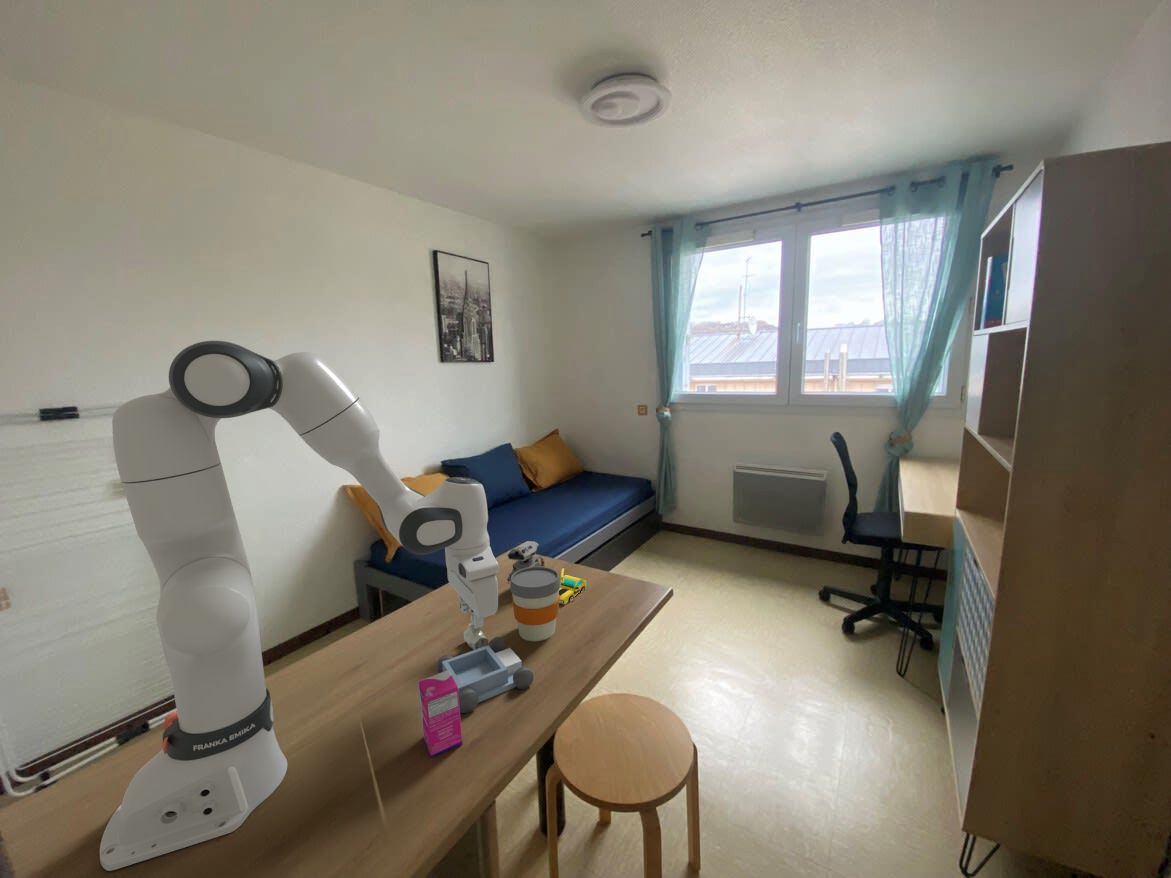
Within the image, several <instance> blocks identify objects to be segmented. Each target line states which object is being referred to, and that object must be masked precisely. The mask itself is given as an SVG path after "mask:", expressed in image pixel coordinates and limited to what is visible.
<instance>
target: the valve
mask: <svg viewBox="0 0 1171 878" xmlns="http://www.w3.org/2000/svg"><path fill="white" fill-rule="evenodd" d="M459 608H460V609H461V603H460V602H459ZM469 616H470V617H469V618H470V619H469V620H470V621H471V622H470V623H469V624H468V627H467V628H466V629H464V631H463V640H464V641H465V642H466V644H467V645H468V646H469V648H471V649H472V651H474V650H476V649H479V648H482V647H485V646H488V645H489V639H488V638H487V636H486V635H485V634H484V632H483V631H482V627H479V628H476V627H475V626H474V625H473V617H474V612H473V610H471V612H470V615H469Z"/></svg>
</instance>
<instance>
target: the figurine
mask: <svg viewBox="0 0 1171 878" xmlns="http://www.w3.org/2000/svg"><path fill="white" fill-rule="evenodd" d="M539 546H540V545H539V543H538V542H537V541H534V540H527V541H525V542H522V543H520V542H518V543H517V546H516V547H514V548H512V549H511V550H510V551H509V552H508V553H507V555H506V556H507V559H508V560H511V561H515V562H514V563H513V564H512V571H511V572H509V573H508V577H507V579H506V580H507V583H510V582H511V576H512V575H513V574H514V573H515V572H517V571H518V570H521V569H524V568H528V567H546V564H545V560H544V558H542V557H541V556H539V557H535V555H536V553H537V549H538V548H539Z"/></svg>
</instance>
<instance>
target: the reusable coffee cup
mask: <svg viewBox="0 0 1171 878" xmlns="http://www.w3.org/2000/svg"><path fill="white" fill-rule="evenodd" d="M560 581H561V576H560V574H559V572H558V571H557V570H556V569H554V568H552V567H549V566H548V567H547V566H545V567H528V568H524V569H521V570H518V571H517V572H515V573H514V574H513V575H512V576H511V581H510V582H509V586H510V587H509V590H510V593H511V596H512V597H511V603H512V604H511V606H512V609H513V610H512V611H513V615H514V619H515V620H516V623H517V627H518V629H517V630H518V633H519V636H520V638H522V639H523V640H525V641H529V642H541V641H544V640H547V639H550V638H551V637H552V636H553V635H554V634H555V631H556V625H557V624H556V623H557V617H558V615H559V609H560V603H559V601H560V595H559V589H560V587H561V584H560Z"/></svg>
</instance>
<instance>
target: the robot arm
mask: <svg viewBox="0 0 1171 878" xmlns="http://www.w3.org/2000/svg"><path fill="white" fill-rule="evenodd" d="M168 384H169V387H168V388H167V390H165V391H163V392H159V393H155V394H147V395H143V396H138V397H136V398H133V399H131V400H129V401H127V402H125V403H123V404H121V405H120V406H119V407H118V408H117V409H116V410H115V412H114V413H113V415H112V420H111V421H112V422H111V424H112V425H111V426H112V428H111V429H112V430H111V431H112V443H113V450H114V457H115V458H114V459H115V462H116V467H117V471H118V475H119V478H120V481H121V485H122V488H123V491H124V495H125V498H126V502H127V503H128V509H129V510H130V514H131V516H132V521H133V523H134V527H135V530H136V534H137V535H138V537H139V539H140V540H141V542H142V544H143V545H144V548H145V549H146V551H147V553H148V556H149V557H150V560H151V561H152V564H153V566H154V569H155V572H156V573H157V577H158V581H159V586H160V596H159V601H158V605H157V609H156V614H155V615H156V618H155V619H156V625H157V628H158V629H157V630H158V633H159V639H160V643H161V646H162V651H163V653H164V658H165V663H166V665H167V668H168V670H169V674H170V677H171V684H172V689H173V696H174V700H175V701H174V702H175V709H176V711H172V712H170V713H168V714H167V715H166V717H165V719H164V722H163V725H162V728H163V730H164V731H163V734H162V749H160V751H159V752H158V753H157V754H155V755H154V756H153V757H151V759H150V760H149V761H147V762H146V763H145V764H143V766H141V768H139V770H138V771H137V772H136V773H135V775H134V776H133V777H132V779H131V781H130V782H129V785H128V786H127V789H126V790H125V792H124V796H123V798H122V801H121V804H120V805H119V807H117V809H116V810H115V811H114V813H113V814H112V815H111V817H110V820H108V823H107V825H106V827H105V829H104V831H103V835H102V837H101V841H100V845H99V862H100V865H101V866H102V868H103V869H104V870H106V871H108V872H112V871H115V870H119V869H122V868H124V867H127V866H131V865H133V864H136V863H140V862H144V861H146V860H150V859H152V858H153V859H154V858H157V857H159V856H162V855H165V854H168V853H171V852H175V851H177V850H181V849H184V848H186V847H191V846H193V845H197V844H200V843H203V842H206V841H209V840H212V839H216V838H219V837H221V836H225V835H227V834H230V833H233V832H235V831H236V830H237V829H238V828H239V827H240V826H242V825H243V823H244V822H245V821H246V819H248V817H249V815H250V814H251V813H252V812H253V811H254V810H255V809H256V808H257V807H258V806H260V805H261V804H262V803H263V802H264V801H265V800H266V799H268V798H269V797H270V796H271V795H272V794H273V793H274V791H275V790H277V788H278V787H279V785H281V783H282V781H283V780H284V778H285V776H286V773H287V770H288V760H287V758H286V756H285V755H284V753H283V751H282V750H281V747H280V745H279V743H278V740H277V737H276V734H275V730H274V727H273V725H274V720H275V719H274V707H273V700H272V697H271V693H270V690H269V689H268V687H267V686H266V678H265V670H264V662H263V661H264V660H263V654H262V647H261V646H262V644H261V636H260V625H259V617H258V608H257V600H256V594H255V589H254V588H255V587H254V582H253V578H252V577H253V576H252V573H251V568H250V564H249V560H248V557H247V552H246V550H245V549H246V548H245V546H244V543H243V539H242V535H241V532H240V528H239V525H238V521H237V517H236V514H235V510H234V506H233V503H232V498H231V495H230V492H229V488H228V484H227V479H226V476H225V473H224V469H223V465H222V461H221V457H220V455H219V451H218V448H217V442H216V434H215V433H216V427H217V424H218V423H219V422H220V420H221V419H232V418H237V417H242V416H245V415H247V414H251V413H254V412H255V413H256V412H258V411H262V410H266V409H270V410H272V411H274V412H275V413H276V414H278V415H279V416H280V417H282V418H283V420H285V421H286V422H287V424H288V425H289V426H290V427H291V428H292V429H293V430H294V432H295V433H296V434H297V435H298V436H299V438H301V439H302V440H303V441H304V443H305V444H306V445H308V446H309V448H310V449H312V450H313V451H314V452H315V453H316V454H317V455H318V456H320V457H321V458H322V459H323V460H325V461H326V462H328V463H329V464H331V466H332V465H333V466H335V467H339V468H340V469H343V470H345V471H346V472H347V473H349V474H350V475H351V476H352V477H354V479H355V480H356V481H357V482H358V483H359V484H360V486H361V487H362V488H363V489H364V490H365V492H367V494H368V495H369V497H370V498H371V499H372V500H373V501H374V502H375V504H376V505H377V508H378V511H379V515H380V520H381V523H382V526H383V528H384V529H385V530H386V532H387V533H388V534H389V535H390V536H392V537H394V539H395V540H397V541H396V542H398V543H399V544H400V545H401V546H402V547H403V549H405V550H406V551H407V552H409V553H411V554H413V555H418V556H420V555H421V556H424V555H425V556H426V555H429V554H432V553H435V552H437V551H440V550H442V549H444V553H445V554H444V555H445V564H446V565H445V566H446V568H447V572H446V573H447V580H448V583H449V585H451V587H452V588H453V589H454V590H455V592H456V593H457V595H458V599H459V604H460V603H461V608H460V609H461V611H462V613H464V614H468V613H472V612H471V610H473V612H474V617H473V625H474V626H475V627H476V628H479V627H481V628H482V627H483V626H484V624H485V623H484V621H485V619H484V618H487V617H490V616H493V615H495V614H497V611H498V608H499V587H498V585H499V584H498V578H497V575H496V574H498V573H499V572H500V571H499V570H500V568H499V562H498V561H497V559H496V558H495V556H494V554H493V551H492V547H491V545H490V544H491V543H490V535H489V532H488V529H487V528H488V527H487V526H488V522H489V514H488V513H489V512H488V510H489V509H488V502H487V495H486V492H485V488H484V485H483V484H482V483H481V482H480V481H478V480H476V479H474V478H471V477H463V476H453V477H448V478H446V479H444V480H443V481H442V483H441V484H440V485H439V486H437V487H436V488H435V489H434V490H433V491H431V492H430V493H428V494H427V495H424V494H423V493H421V492H419V491H417V490H415V489H413V488H411V487H409V486H407V485H406V484H405V483H404V482H403V480H401V478H400V477H399V476H398V475H397V473H396V472H395V471H394V469H393V468H392V467H391V466H390V464H389V463H388V462H387V460H386V459H385V458H384V456H383V454H382V451H381V450H380V445H379V441H380V429H379V427H378V424H377V423H376V421H375V419H374V416H373V415H372V413H371V412H370V410H369V409H368V407H367V406H366V405H365V403H364V401H363V400H362V399H361V397H359V395H358V393H357V392H355V390H354V389H353V387H351V385H350V384H349V383H348V382H347V381H346V380H345V379H344V378H343V377H342V376H341V374H340V373H339V372H337V370H335V369H334V368H333V367H332V366H331V365H330V364H329V363H327V362H326V361H325V360H324V359H323V358H322V357H321V356H319V355H317V354H315V353H314V352H313V353H312V352H307V351H301V352H300V351H299V352H294V353H293V352H292V353H290V354H289V353H288V354H286V355H284V356H282V357H280V358H278V359H275V360H273V359H270V358H268V357H265V356H263V355H261V354H258V353H256V352H254V351H252V350H250V349H248V348H247V347H244V346H242V345H240V344H238V343H235V342H230V341H225V340H206V341H205V340H204V341H199V342H196V343H193V344H191V345H189V346H187V347H186V348H184V349H182V350H181V351H180V352H179V353H178V354H177V355H176V356H175V357H174V358H173V360H172V361H171V364H170V367H169V371H168Z"/></svg>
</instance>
